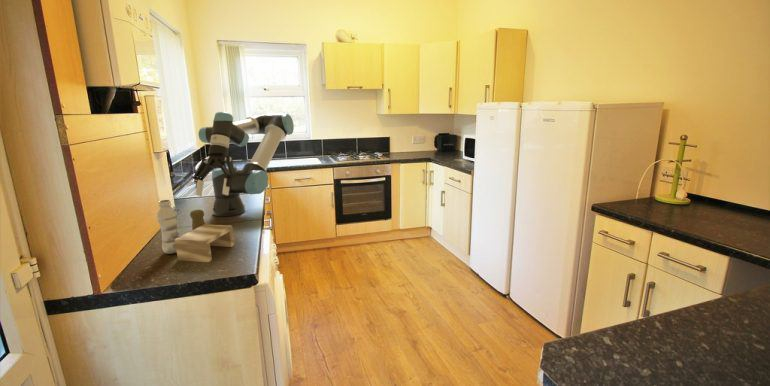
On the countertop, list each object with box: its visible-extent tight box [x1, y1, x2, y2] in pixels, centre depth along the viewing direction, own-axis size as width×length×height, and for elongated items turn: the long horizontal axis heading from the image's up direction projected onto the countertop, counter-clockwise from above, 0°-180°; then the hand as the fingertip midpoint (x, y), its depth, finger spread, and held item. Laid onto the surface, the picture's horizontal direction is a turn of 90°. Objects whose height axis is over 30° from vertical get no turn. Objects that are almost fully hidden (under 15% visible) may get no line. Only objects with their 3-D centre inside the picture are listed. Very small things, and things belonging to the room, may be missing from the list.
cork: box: [189, 209, 206, 231], centre depth 151 cm, size 6×6×11 cm
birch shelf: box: [175, 223, 235, 263], centre depth 134 cm, size 16×12×8 cm
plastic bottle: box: [156, 199, 180, 255], centre depth 133 cm, size 6×7×20 cm
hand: (211, 195), depth 149 cm, fingers open, 13 cm apart
